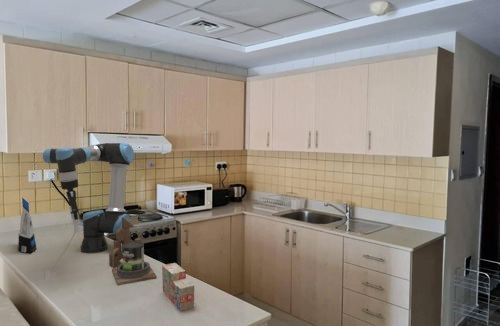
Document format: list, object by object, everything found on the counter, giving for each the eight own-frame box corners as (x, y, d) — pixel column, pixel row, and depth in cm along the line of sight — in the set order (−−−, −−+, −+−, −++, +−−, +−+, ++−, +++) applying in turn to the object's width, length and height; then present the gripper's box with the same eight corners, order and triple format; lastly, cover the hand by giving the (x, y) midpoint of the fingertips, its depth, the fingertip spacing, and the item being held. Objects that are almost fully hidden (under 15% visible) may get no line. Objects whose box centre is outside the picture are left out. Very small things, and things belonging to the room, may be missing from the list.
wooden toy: (113, 268, 191) (112, 221, 189) (109, 265, 196) (107, 218, 194) (142, 262, 200) (141, 216, 199) (137, 258, 206) (136, 214, 204)
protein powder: (21, 256, 210) (18, 204, 207) (15, 246, 228) (13, 198, 226) (40, 252, 216) (38, 202, 213) (33, 243, 234) (31, 196, 232)
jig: (111, 270, 187) (111, 262, 187) (147, 265, 196) (147, 257, 195) (117, 285, 170) (117, 276, 169) (156, 278, 178) (156, 269, 177)
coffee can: (135, 277, 175) (134, 248, 174) (118, 274, 179) (117, 246, 178) (148, 270, 185) (148, 242, 184) (132, 267, 189) (131, 240, 187)
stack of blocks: (194, 307, 148) (194, 278, 147) (180, 311, 145) (179, 281, 144) (175, 288, 166) (175, 262, 165) (162, 291, 163) (161, 264, 162)
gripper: (58, 177, 186) (65, 217, 190) (61, 186, 165) (69, 230, 169) (75, 174, 190) (81, 213, 194) (80, 183, 168) (87, 227, 172)
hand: (75, 221), depth 181 cm, fingers open, 13 cm apart
